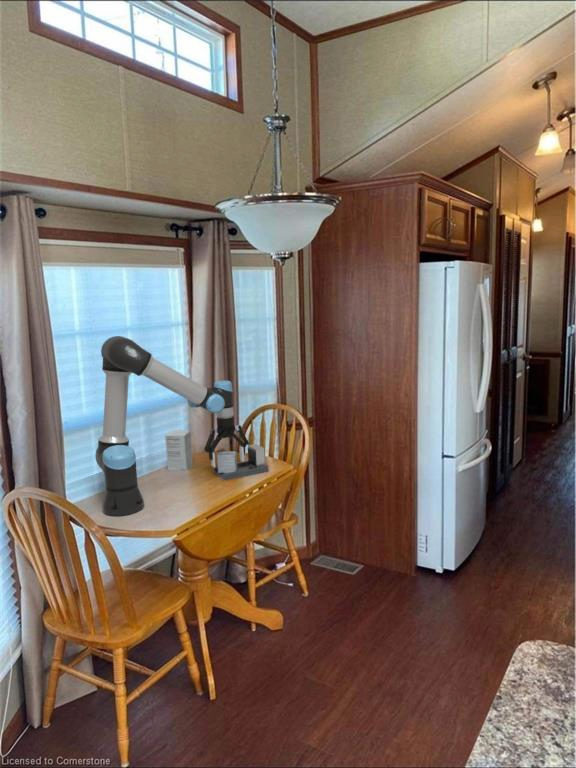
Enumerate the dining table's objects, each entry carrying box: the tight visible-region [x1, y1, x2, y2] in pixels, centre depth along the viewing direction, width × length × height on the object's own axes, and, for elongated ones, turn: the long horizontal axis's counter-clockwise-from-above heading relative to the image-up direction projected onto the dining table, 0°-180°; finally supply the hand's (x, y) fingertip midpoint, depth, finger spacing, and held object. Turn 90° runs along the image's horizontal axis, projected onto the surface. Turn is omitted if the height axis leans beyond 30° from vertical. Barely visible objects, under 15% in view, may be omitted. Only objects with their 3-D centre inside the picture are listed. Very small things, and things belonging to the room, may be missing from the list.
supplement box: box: [164, 429, 194, 472], centre depth 261 cm, size 10×9×17 cm
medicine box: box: [216, 450, 238, 473], centre depth 248 cm, size 8×4×9 cm, turn 84°
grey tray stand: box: [213, 443, 269, 481], centre depth 251 cm, size 21×12×10 cm, turn 119°
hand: (227, 463), depth 248 cm, fingers open, 13 cm apart
